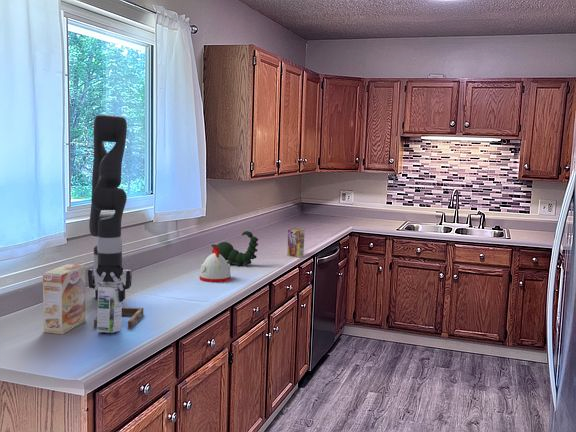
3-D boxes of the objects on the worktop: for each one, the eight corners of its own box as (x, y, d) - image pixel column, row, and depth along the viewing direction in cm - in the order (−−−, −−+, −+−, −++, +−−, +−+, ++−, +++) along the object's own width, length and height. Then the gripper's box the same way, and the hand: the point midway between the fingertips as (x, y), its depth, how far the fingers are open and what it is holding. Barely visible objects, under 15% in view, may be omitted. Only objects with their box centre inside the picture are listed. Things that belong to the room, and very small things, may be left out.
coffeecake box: (63, 334, 190) (62, 274, 187) (42, 332, 191) (41, 272, 189) (86, 320, 204) (86, 264, 202) (67, 319, 206) (66, 263, 203)
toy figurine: (257, 268, 303) (214, 259, 312) (261, 231, 300) (217, 223, 309) (250, 272, 294) (205, 262, 303) (254, 234, 291) (208, 225, 300)
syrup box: (96, 332, 191) (97, 286, 191) (106, 328, 197) (107, 284, 197) (111, 333, 189) (112, 287, 190) (121, 330, 195) (123, 285, 195)
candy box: (304, 256, 329) (305, 229, 327) (299, 257, 325) (299, 229, 323) (292, 254, 334) (292, 227, 333) (286, 255, 331) (287, 228, 329)
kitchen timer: (204, 283, 262) (205, 249, 260) (196, 276, 274) (196, 244, 272) (234, 281, 268) (235, 248, 266) (225, 274, 280) (225, 243, 278)
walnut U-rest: (108, 313, 213) (108, 306, 213) (143, 314, 213) (143, 308, 213) (93, 327, 198) (93, 320, 197) (131, 328, 198) (131, 321, 197)
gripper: (135, 249, 195) (135, 298, 197) (91, 247, 195) (92, 297, 197) (128, 253, 188) (129, 304, 190) (83, 251, 188) (84, 303, 190)
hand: (110, 301), depth 194 cm, fingers closed on syrup box, 6 cm apart
